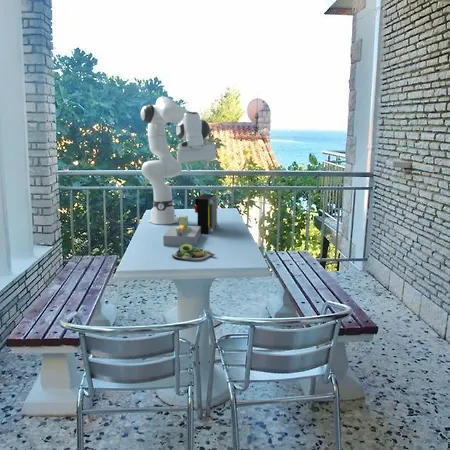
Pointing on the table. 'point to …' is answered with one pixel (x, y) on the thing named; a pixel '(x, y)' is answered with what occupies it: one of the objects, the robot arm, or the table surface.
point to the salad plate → (191, 253)
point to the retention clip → (180, 230)
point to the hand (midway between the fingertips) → (198, 169)
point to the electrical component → (206, 212)
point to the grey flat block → (182, 236)
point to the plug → (184, 223)
